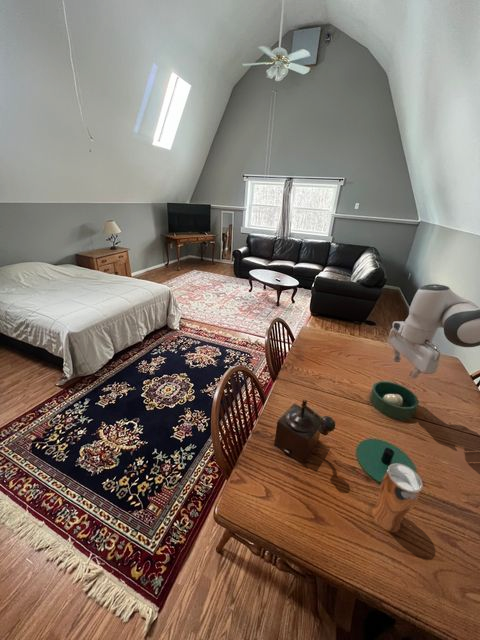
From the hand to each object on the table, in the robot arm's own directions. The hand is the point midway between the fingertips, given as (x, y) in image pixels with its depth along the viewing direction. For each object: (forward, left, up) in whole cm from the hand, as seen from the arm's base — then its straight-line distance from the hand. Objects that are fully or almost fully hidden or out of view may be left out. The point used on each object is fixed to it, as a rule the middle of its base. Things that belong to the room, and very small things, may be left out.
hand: (404, 368), depth 92 cm
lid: (+16, +24, -16) cm, 33 cm away
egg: (0, +1, -16) cm, 16 cm away
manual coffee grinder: (+38, +18, -16) cm, 45 cm away
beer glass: (+24, +38, -16) cm, 48 cm away
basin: (0, +1, -16) cm, 16 cm away
